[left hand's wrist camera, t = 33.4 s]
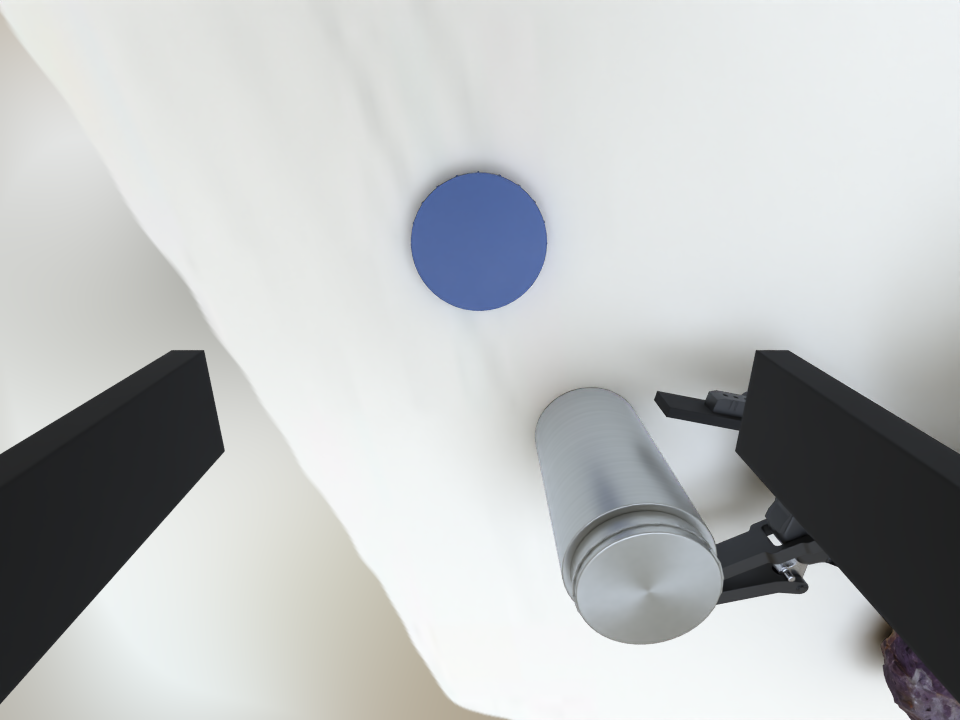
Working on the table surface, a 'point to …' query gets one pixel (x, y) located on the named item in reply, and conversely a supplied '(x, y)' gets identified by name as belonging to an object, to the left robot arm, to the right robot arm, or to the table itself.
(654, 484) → the jar
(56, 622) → the left robot arm
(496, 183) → the lid
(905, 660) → the rock
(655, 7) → the table surface
